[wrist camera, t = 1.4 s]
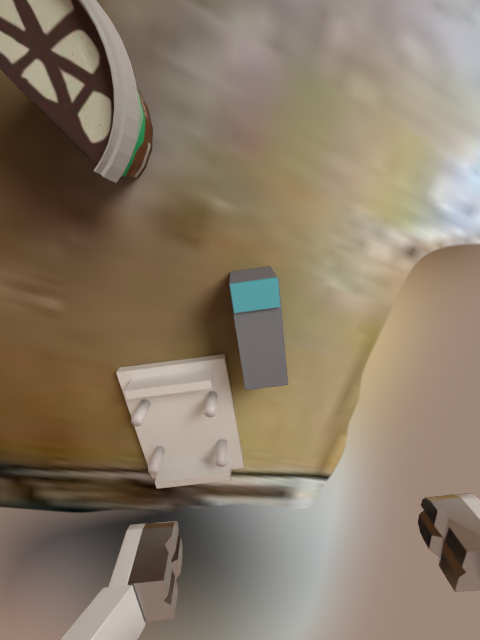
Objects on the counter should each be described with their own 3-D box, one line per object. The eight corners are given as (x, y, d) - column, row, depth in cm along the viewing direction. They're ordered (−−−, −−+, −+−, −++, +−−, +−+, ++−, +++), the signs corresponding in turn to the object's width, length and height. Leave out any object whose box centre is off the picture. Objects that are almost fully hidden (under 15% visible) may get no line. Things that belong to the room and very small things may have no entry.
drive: (269, 263, 28) (279, 277, 22) (278, 354, 32) (288, 387, 26) (230, 269, 28) (228, 285, 22) (243, 358, 32) (245, 392, 26)
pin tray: (224, 354, 31) (223, 373, 28) (243, 461, 37) (244, 489, 33) (119, 367, 32) (104, 388, 28) (154, 471, 38) (145, 500, 34)
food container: (198, 138, 24) (175, 91, 15) (151, 191, 26) (101, 179, 16) (78, -6, 21) (-51, -185, 11) (31, 65, 22) (-118, -43, 13)
